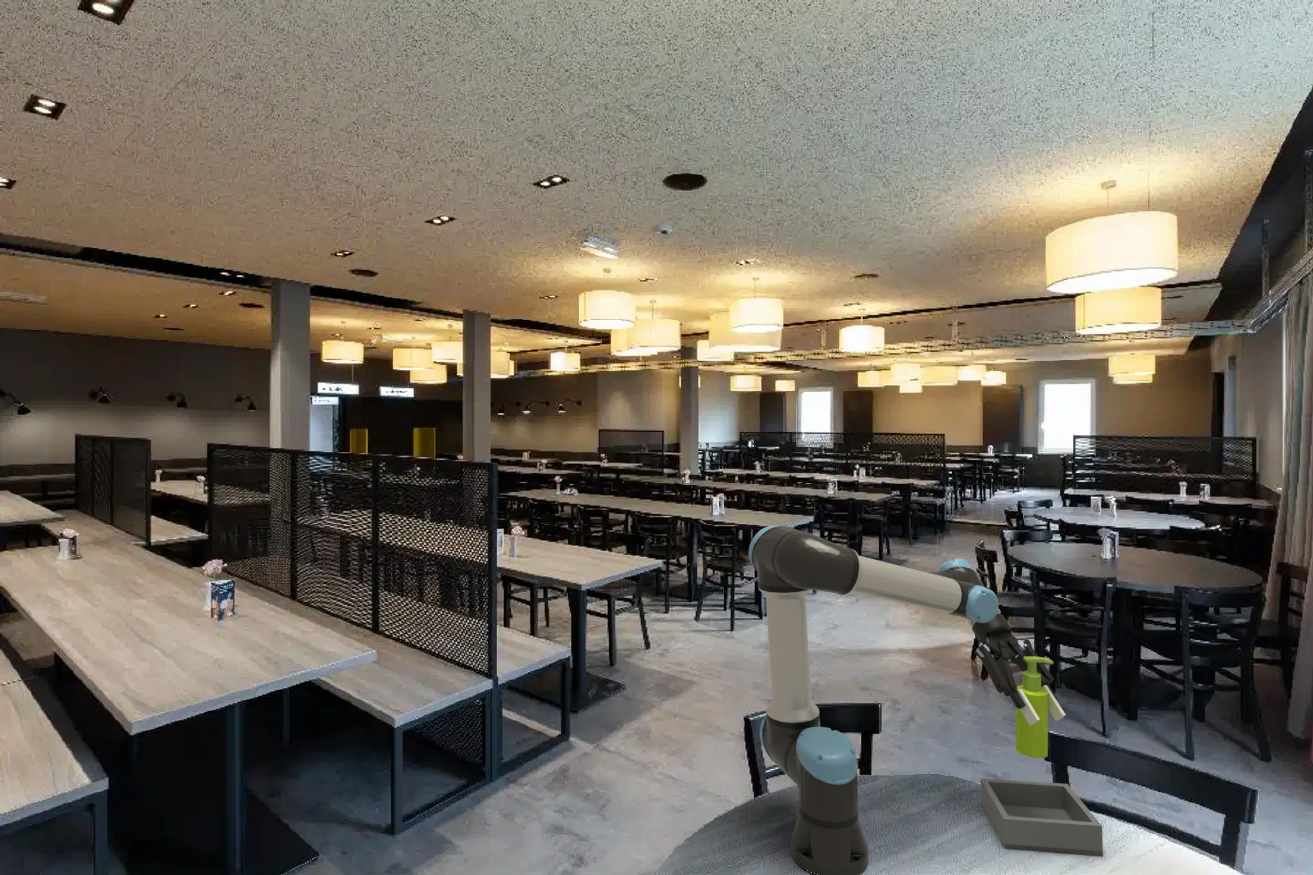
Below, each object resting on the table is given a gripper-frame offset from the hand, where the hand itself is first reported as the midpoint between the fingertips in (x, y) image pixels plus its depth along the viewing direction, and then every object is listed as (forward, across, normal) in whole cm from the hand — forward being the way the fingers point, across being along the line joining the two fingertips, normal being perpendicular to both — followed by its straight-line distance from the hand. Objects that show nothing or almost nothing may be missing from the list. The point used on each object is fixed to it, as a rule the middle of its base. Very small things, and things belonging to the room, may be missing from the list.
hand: (1047, 720), depth 137 cm
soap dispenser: (+3, 0, -9) cm, 9 cm away
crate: (+15, 0, -20) cm, 25 cm away
